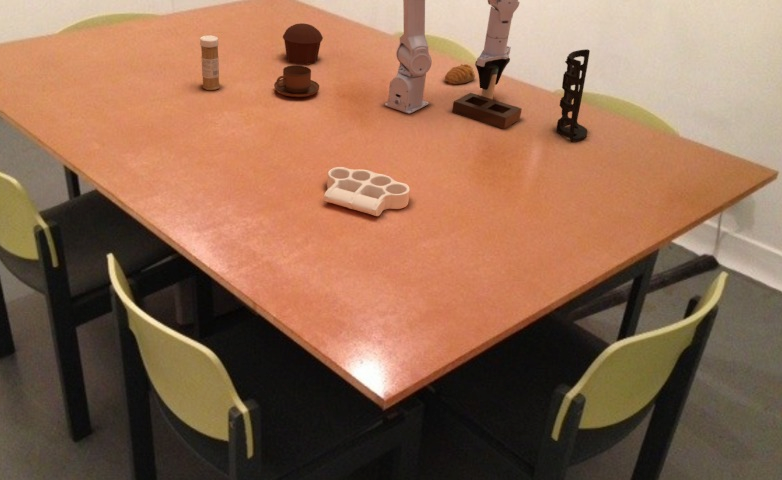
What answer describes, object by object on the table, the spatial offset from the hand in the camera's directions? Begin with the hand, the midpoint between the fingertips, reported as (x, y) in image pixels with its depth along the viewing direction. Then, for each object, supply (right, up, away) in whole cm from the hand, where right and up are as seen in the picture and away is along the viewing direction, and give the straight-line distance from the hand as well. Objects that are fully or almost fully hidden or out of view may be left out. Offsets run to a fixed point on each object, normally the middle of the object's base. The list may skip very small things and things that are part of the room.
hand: (488, 86), depth 207 cm
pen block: (-2, -9, -7) cm, 12 cm away
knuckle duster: (-35, -35, -47) cm, 68 cm away
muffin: (-51, +13, +21) cm, 57 cm away
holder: (+17, -15, -13) cm, 27 cm away
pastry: (-6, +5, +14) cm, 16 cm away
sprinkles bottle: (-74, -1, -1) cm, 74 cm away
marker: (0, -3, +2) cm, 4 cm away
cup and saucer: (-52, -2, -1) cm, 52 cm away
